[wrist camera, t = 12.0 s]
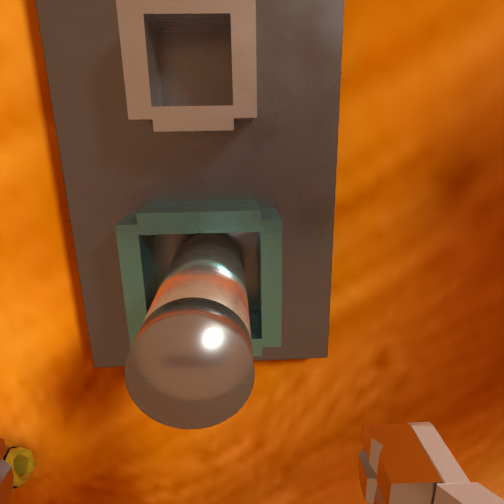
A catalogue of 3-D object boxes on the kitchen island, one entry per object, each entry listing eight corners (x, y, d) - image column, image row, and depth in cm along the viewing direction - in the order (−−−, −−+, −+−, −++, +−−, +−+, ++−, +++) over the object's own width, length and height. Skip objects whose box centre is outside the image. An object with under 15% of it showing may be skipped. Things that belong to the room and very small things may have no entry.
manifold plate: (339, -63, 19) (371, -121, 14) (321, 344, 25) (340, 388, 21) (38, -64, 18) (-22, -125, 14) (101, 353, 25) (74, 401, 20)
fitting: (243, 232, 21) (253, 315, 12) (245, 299, 22) (255, 425, 13) (169, 234, 21) (117, 320, 11) (174, 302, 22) (131, 432, 13)
